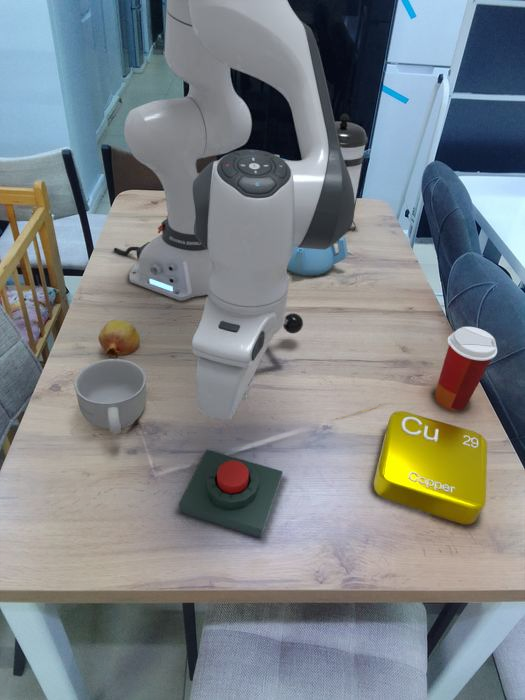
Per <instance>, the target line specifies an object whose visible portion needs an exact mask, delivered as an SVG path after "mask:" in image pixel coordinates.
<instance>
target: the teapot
mask: <svg viewBox="0 0 525 700" xmlns="http://www.w3.org/2000/svg"><path fill="white" fill-rule="evenodd" d="M335 244H336V245H337V252H336V247H335ZM335 244H333V245H332V246H330V247H329V248H327V249H326V250H321V249H309V248H298V246H293V251H292V255H291V258H290V260H289V262H288V265H287V271H289V272H291V273H293V274H295V275H298V276H303V277H316V276H320V275H323V274H325V273H327V272H328V271H330V270H331V269H332V268H333V267H334V265H336V264H338V263H340V262H341V261H343V260H345V259H347V257H348V256H349V251H348V246H347V240H346V236H343V237H342V238H341V239H340V240H338V241H337V242H336V243H335Z"/></svg>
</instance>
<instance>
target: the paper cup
mask: <svg viewBox="0 0 525 700" xmlns="http://www.w3.org/2000/svg"><path fill="white" fill-rule="evenodd" d="M447 343H448V347H447V351H446V354H445V358H444V361H443V364H442V367H441V371H440V375H439V378H438V381H437V385H436V388H435V393H434V399H435V401H436V403H437V404H438V405H439V406H441V407H442V408H444V409H446V410H449V411H453V412H458V411H462V410H464V409H465V407H467V405H468V403H469V401H470V400H471V398H472V396H473V395H474V393H475V390H476V389H477V387H478V386H479V384H480V382H481V380H482V378H483V376H484V374H485V372H486V370H487V369H488V367H489V364H490V363H491V361H492V360H493V358H495V357H496V356H497V354H498V347H497V342H496V339H495V337H494V336H493V335H492V334H491V333H489V332H488V331H486V330H484V329H481V328H478V327H474V326H461V327H460V328H458V329H456V330H455V331H453V332H452V333H451V334H450V335H448V337H447Z"/></svg>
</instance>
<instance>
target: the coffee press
mask: <svg viewBox="0 0 525 700" xmlns="http://www.w3.org/2000/svg"><path fill="white" fill-rule="evenodd" d="M339 120H340V121H338V120H337V121H335V125H336V130H337V135H338V139H339V144H340V148H341V152H342V155H343V158H344V161H345V164H346V167H347V170H348V172H349V175H350V178H351V182H352V186H353V191H354V200H355V206H356V204H357V198H358V193H359V188H360V181H361V176H362V171H363V165H364V160H365V159H364V158H365V148H366V145H367V144H368V141H369V140H368V139H369V138H368V136H367V133H366V130H365V129H364V128H363V126H360V125H358V124H356V123H353V122H349V121H350V116H349V114H347V113H342V114H341V115H340V117H339ZM352 225H354V227H352V226H351V227H350V229H349V230H351V231H355V230H356V228H357V227H356V226H357V225H356V223H355V221H354V220H353V223H352Z"/></svg>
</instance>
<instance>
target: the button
mask: <svg viewBox="0 0 525 700" xmlns="http://www.w3.org/2000/svg"><path fill="white" fill-rule="evenodd" d="M248 479H249V471H248V469H247V467H246V466H245V465H244V464H243V463H241V462H239V461H227V462H225V463H223V464H222V465H221V466H220V467H219V468H218V471H217V484H218V486H219V488H220V489H221V490H222V491H224V492H226V493H229V494H236V493H240V492H242V491H243V490H244V489H245V488H246V487H247V485H248Z"/></svg>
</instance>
